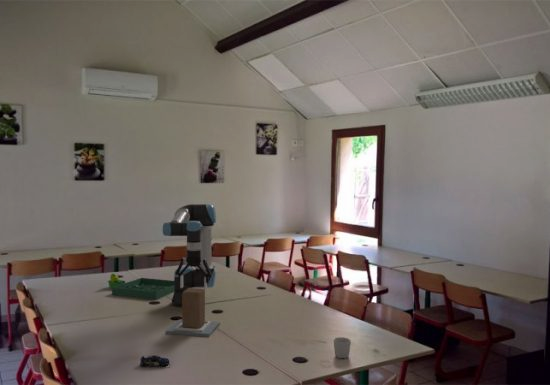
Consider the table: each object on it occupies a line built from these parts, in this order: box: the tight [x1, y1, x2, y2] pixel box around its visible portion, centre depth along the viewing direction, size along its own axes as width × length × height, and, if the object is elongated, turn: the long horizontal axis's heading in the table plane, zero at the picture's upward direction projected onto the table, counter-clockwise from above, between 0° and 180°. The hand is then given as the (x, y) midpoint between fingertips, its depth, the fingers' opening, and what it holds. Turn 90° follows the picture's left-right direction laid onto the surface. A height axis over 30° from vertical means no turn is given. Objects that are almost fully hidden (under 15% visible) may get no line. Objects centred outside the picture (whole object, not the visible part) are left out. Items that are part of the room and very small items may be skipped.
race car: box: [139, 354, 170, 368], centre depth 221 cm, size 15×7×4 cm, turn 97°
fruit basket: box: [107, 273, 126, 289], centre depth 359 cm, size 11×9×11 cm
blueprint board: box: [165, 319, 221, 337], centre depth 271 cm, size 24×20×2 cm
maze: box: [111, 277, 174, 301], centre depth 351 cm, size 35×35×6 cm
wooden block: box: [181, 288, 206, 329], centre depth 270 cm, size 10×10×20 cm
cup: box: [333, 336, 352, 359], centre depth 234 cm, size 11×8×8 cm
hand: (193, 288), depth 270 cm, fingers open, 13 cm apart
